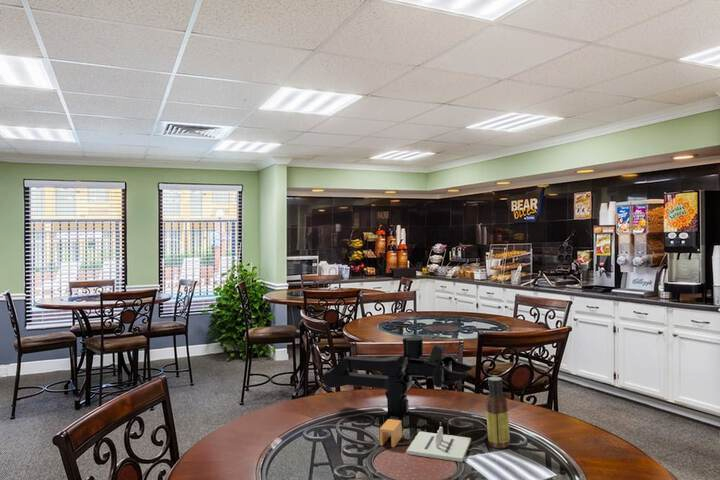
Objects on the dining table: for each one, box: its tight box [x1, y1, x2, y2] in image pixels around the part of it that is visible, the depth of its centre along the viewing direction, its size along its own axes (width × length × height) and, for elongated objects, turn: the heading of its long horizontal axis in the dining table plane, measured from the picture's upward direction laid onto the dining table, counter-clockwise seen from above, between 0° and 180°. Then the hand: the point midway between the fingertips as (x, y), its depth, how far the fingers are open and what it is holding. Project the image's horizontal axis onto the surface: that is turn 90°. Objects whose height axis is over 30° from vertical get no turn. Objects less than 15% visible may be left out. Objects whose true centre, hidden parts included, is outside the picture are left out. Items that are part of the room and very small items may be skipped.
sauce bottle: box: [485, 376, 511, 449], centre depth 150 cm, size 7×6×20 cm
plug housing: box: [379, 418, 403, 448], centre depth 155 cm, size 8×4×5 cm, turn 158°
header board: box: [406, 426, 472, 463], centre depth 149 cm, size 16×14×5 cm
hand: (469, 372), depth 167 cm, fingers open, 9 cm apart
